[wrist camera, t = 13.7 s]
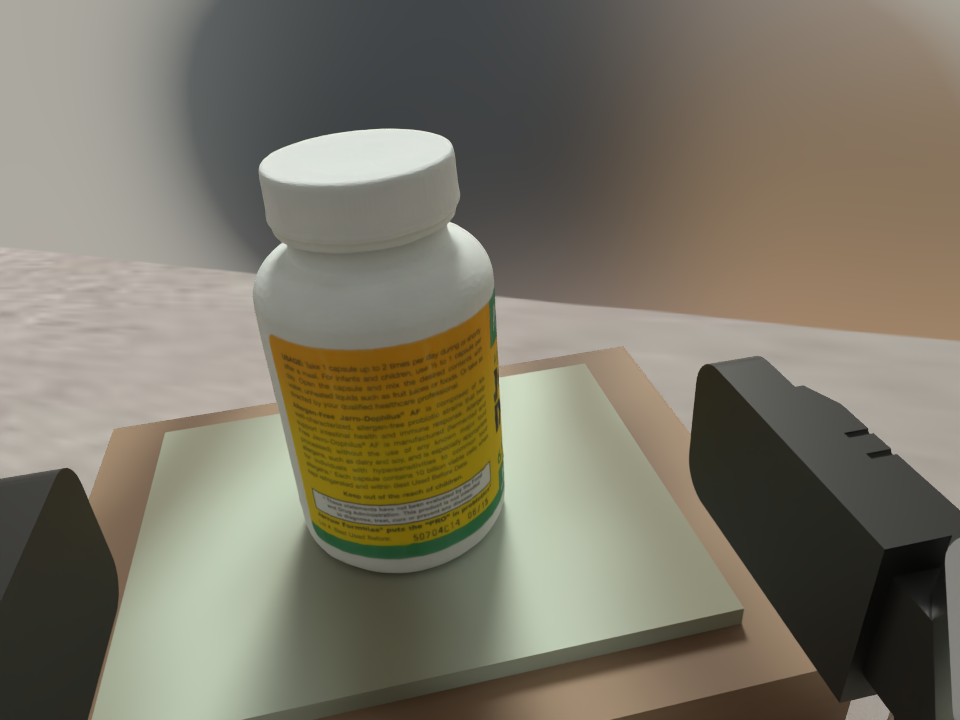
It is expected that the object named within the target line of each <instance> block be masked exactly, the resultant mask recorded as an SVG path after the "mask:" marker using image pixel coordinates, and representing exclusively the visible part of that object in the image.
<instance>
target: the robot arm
mask: <svg viewBox="0 0 960 720" xmlns="http://www.w3.org/2000/svg"><path fill="white" fill-rule="evenodd" d="M689 468H690V474H691V479H692V483H693V486H694V489H695V491H696V494H697V496H698V498H699V499H700V501H701V503H702V504H703V506H704V507H705V509H706V510H707V511H708V513H709V514H710V516H711V517H712V519H713V520H714V522H715V523H716V525H717V526H718V527H719V529H720V530H721V532H722V533H723V535H724V536H725V538H726V539H727V540H728V542H729V543H730V545H731V546H732V548H733V549H734V551H735V552H736V554H737V555H738V556H739V558H740V559H741V561H742V562H743V564H744V565H745V567H746V568H747V570H748V571H749V572H750V574H751V575H752V577H753V578H754V580H755V581H756V583H757V584H758V586H759V587H760V588H761V590H762V591H763V593H764V594H765V596H766V597H767V599H768V600H769V601H770V603H771V604H772V606H773V607H774V609H775V610H776V612H777V613H778V615H779V616H780V617H781V619H782V620H783V622H784V623H785V625H786V626H787V628H788V629H789V631H790V632H791V633H792V635H793V636H794V638H795V639H796V641H797V642H798V644H799V645H800V647H801V648H802V649H803V651H804V652H805V654H806V655H807V657H808V658H809V660H810V661H811V662H812V664H813V665H814V667H815V668H816V670H817V671H818V673H819V674H820V676H821V677H822V678H823V680H824V681H825V683H826V684H827V686H828V687H829V689H830V690H831V692H832V693H833V694H834V696H835V697H836V699H837V700H838V702H839V703H842V702H846V701H851V700H855V699H859V698H863V697H867V696H871V695H876V694H877V695H878V696H879V697H880V699H881V700H882V701H883V703H884V704H885V705H886V707H887V708H888V709H889V711H890V713H889V716H888V719H887V720H960V510H959V509H958V508H957V507H955V506H954V505H953V504H952V503H951V502H950V501H949V500H948V499H947V498H945V497H944V496H943V495H942V494H941V493H940V492H939V491H938V490H936V489H935V488H934V487H933V486H932V485H931V484H930V483H929V482H928V481H926V480H925V479H924V478H923V477H922V476H921V475H920V474H919V473H917V472H916V471H915V470H914V469H913V468H912V467H911V466H910V465H908V464H907V463H906V462H905V461H904V460H903V459H902V458H901V457H900V456H898V455H897V454H895V455H892V453H891V448H889V447H888V446H887V445H886V444H885V443H884V442H883V441H882V440H881V439H879V438H878V437H877V436H876V435H875V434H874V433H873V434H869V432H868V428H867V427H866V426H865V425H864V424H863V423H862V422H860V421H859V420H858V419H857V418H856V417H855V416H854V415H853V414H851V413H850V412H849V411H848V410H847V409H846V408H845V407H844V406H843V405H841V404H840V403H838V402H836V401H834V400H832V399H830V398H828V397H826V396H824V395H821V394H819V393H817V392H815V391H813V390H811V389H809V388H807V387H805V386H798V387H795V386H794V385H792V384H791V383H790V382H789V381H788V380H787V379H786V378H785V377H784V376H783V375H782V374H781V373H780V372H779V371H778V370H777V369H775V368H774V367H773V366H772V365H771V364H770V363H769V362H768V361H767V360H766V359H764V358H762V357H760V356H754V357H748V358H742V359H736V360H730V361H724V362H718V363H712V364H706V365H704V366H702V368H701V369H700V371H699V373H698V376H697V382H696V391H695V401H694V410H693V420H692V430H691V440H690V449H689ZM118 600H119V584H118V575H117V570H116V565H115V562H114V559H113V556H112V554H111V552H110V549H109V547H108V545H107V542H106V540H105V538H104V535H103V533H102V531H101V528H100V526H99V524H98V521H97V519H96V517H95V514H94V512H93V510H92V507H91V505H90V502H89V500H88V498H87V495H86V493H85V491H84V488H83V486H82V484H81V482H80V480H79V478H78V476H77V475H76V474H75V473H74V471H72V470H71V469H68V468H63V469H57V470H51V471H45V472H39V473H33V474H27V475H21V476H15V477H8V478H2V479H0V720H88V718H89V714H90V710H91V706H92V703H93V699H94V695H95V691H96V688H97V684H98V680H99V676H100V673H101V669H102V665H103V661H104V658H105V654H106V650H107V647H108V643H109V639H110V635H111V632H112V628H113V624H114V620H115V617H116V613H117V608H118Z"/></svg>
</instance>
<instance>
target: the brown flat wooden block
mask: <svg viewBox="0 0 960 720" xmlns="http://www.w3.org/2000/svg"><path fill="white" fill-rule="evenodd" d="M498 369H499V387H500V405H501V424H502V443H503V454H504V482H505V493H504V501H503V504H502V508H501V511H500V514H499V516H498V518H497V519H496V521H495V523H494V525H493V526H492V528H491V529H490V531H489V532H488V533H487V534H486V536H485V537H484V538H483V539H482V540H480V541H479V542H478V543H477V544H476V545H475V546H473V547H472V548H471V549H469V550H468V551H467V552H465V553H463V554H462V555H460V556H459V557H457V558H455V559H453V560H451V561H449V562H446V563H444V564H442V565H439V566H436V567H433V568H429V569H426V570H422V571H417V572H410V573H382V572H374V571H370V570H366V569H362V568H359V567H356V566H353V565H349V564H346V563H344V562H342V561H340V560H338V559H336V558H334V557H332V556H331V555H329V554H328V553H327V552H326V551H325V550H324V549H323V548H321V547H320V545H319V544H318V543H317V542H316V541H315V539H314V538H313V536H312V535H311V533H310V531H309V529H308V527H307V524H306V521H305V518H304V514H303V510H302V506H301V504H300V501H299V495H298V490H297V486H296V481H295V477H294V473H293V469H292V465H291V460H290V456H289V452H288V448H287V443H286V439H285V435H284V430H283V426H282V421H281V417H280V413H279V409H278V405H277V403H271V404H265V405H259V406H253V407H247V408H241V409H234V410H228V411H222V412H216V413H210V414H204V415H197V416H191V417H185V418H179V419H173V420H167V421H160V422H154V423H148V424H142V425H136V426H130V427H123V428H117V429H114V430H113V433H112V436H111V439H110V441H109V444H108V447H107V450H106V453H105V455H104V458H103V461H102V464H101V467H100V469H99V472H98V475H97V478H96V480H95V483H94V486H93V489H92V492H91V494H90V497H89V502H90V505H91V507H92V510H93V512H94V514H95V517H96V519H97V521H98V524H99V526H100V528H101V531H102V533H103V535H104V538H105V540H106V542H107V545H108V547H109V549H110V552H111V554H112V556H113V559H114V562H115V565H116V570H117V575H118V584H119V600H118V608H117V613H116V617H115V620H114V624H113V628H112V632H111V635H110V639H109V643H108V647H107V650H106V654H105V658H104V661H103V665H102V669H101V673H100V676H99V680H98V684H97V688H96V691H95V695H94V699H93V703H92V706H91V710H90V714H89V718H88V720H845V718H846V715H847V712H848V708H849V705H850V702H851V701H846V702H842V703H839V702H838V700H837V699H836V697H835V696H834V694H833V693H832V692H831V690H830V689H829V687H828V686H827V684H826V683H825V681H824V680H823V678H822V677H821V676H820V674H819V673H818V671H817V670H816V668H815V667H814V665H813V664H812V662H811V661H810V660H809V658H808V657H807V655H806V654H805V652H804V651H803V649H802V648H801V647H800V645H799V644H798V642H797V641H796V639H795V638H794V636H793V635H792V633H791V632H790V631H789V629H788V628H787V626H786V625H785V623H784V622H783V620H782V619H781V617H780V616H779V615H778V613H777V612H776V610H775V609H774V607H773V606H772V604H771V603H770V601H769V600H768V599H767V597H766V596H765V594H764V593H763V591H762V590H761V588H760V587H759V586H758V584H757V583H756V581H755V580H754V578H753V577H752V575H751V574H750V572H749V571H748V570H747V568H746V567H745V565H744V564H743V562H742V561H741V559H740V558H739V556H738V555H737V554H736V552H735V551H734V549H733V548H732V546H731V545H730V543H729V542H728V540H727V539H726V538H725V536H724V535H723V533H722V532H721V530H720V529H719V527H718V526H717V525H716V523H715V522H714V520H713V519H712V517H711V516H710V514H709V513H708V511H707V510H706V509H705V507H704V506H703V504H702V503H701V501H700V499H699V498H698V496H697V494H696V491H695V489H694V486H693V483H692V479H691V474H690V468H689V449H690V440H691V434H690V433H689V431H688V430H687V429H686V427H685V426H684V425H683V424H682V422H681V421H680V420H679V418H678V417H677V416H676V414H675V413H674V412H673V410H672V409H671V408H670V407H669V405H668V404H667V403H666V401H665V400H664V399H663V397H662V396H661V395H660V394H659V392H658V391H657V390H656V388H655V387H654V386H653V384H652V383H651V382H650V380H649V379H648V378H647V377H646V375H645V374H644V373H643V371H642V370H641V369H640V367H639V366H638V365H637V364H636V362H635V361H634V360H633V358H632V357H631V356H630V354H629V353H628V352H627V351H626V349H625V348H624V347H616V348H610V349H604V350H598V351H592V352H586V353H579V354H573V355H567V356H561V357H555V358H549V359H542V360H536V361H530V362H524V363H518V364H512V365H506V366H499V367H498Z"/></svg>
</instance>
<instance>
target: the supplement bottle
mask: <svg viewBox="0 0 960 720" xmlns="http://www.w3.org/2000/svg"><path fill="white" fill-rule="evenodd" d="M259 179H260V183H261V188H262V194H263V199H264V204H265V211H266V220H267V223H268V225H269V226H270V227H271V228H272V230H273V233H274V235H275V236H276V238H277V239H279V240H280V241H281V242H282V243H281V244H280V245H279V246H278V247H277V248H275V249H274V250H273V251H272V252H271V253H270V254H269V256H268V257H267V258H266V259H265V261H264V262H263V264H262V265H261V267H260V269H259V271H258V273H257V276H256V279H255V283H254V288H253V301H254V308H255V313H256V317H257V322H258V327H259V331H260V335H261V340H262V344H263V348H264V352H265V356H266V360H267V364H268V368H269V372H270V376H271V380H272V385H273V389H274V393H275V397H276V401H277V405H278V409H279V413H280V417H281V421H282V426H283V430H284V435H285V439H286V443H287V448H288V452H289V456H290V460H291V465H292V469H293V473H294V477H295V481H296V486H297V490H298V495H299V501H300V504H301V506H302V510H303V514H304V518H305V521H306V524H307V527H308V529H309V531H310V533H311V535H312V536H313V538H314V539H315V541H316V542H317V543H318V544H319V545H320V547H321V548H323V549H324V550H325V551H326V552H327V553H328V554H329V555H331V556H332V557H334V558H336V559H338V560H340V561H342V562H344V563H346V564H349V565H353V566H356V567H359V568H362V569H366V570H370V571H374V572H382V573H410V572H417V571H422V570H426V569H429V568H433V567H436V566H439V565H442V564H444V563H446V562H449V561H451V560H453V559H455V558H457V557H459V556H460V555H462V554H463V553H465V552H467V551H468V550H469V549H471V548H472V547H473V546H475V545H476V544H477V543H478V542H479V541H480V540H482V539H483V538H484V537H485V536H486V534H487V533H488V532H489V531H490V529H491V528H492V526H493V525H494V523H495V521H496V519H497V518H498V516H499V514H500V511H501V508H502V504H503V501H504V493H505V482H504V454H503V443H502V424H501V405H500V387H499V369H498V351H497V332H496V309H495V288H494V278H493V270H492V266H491V263H490V260H489V257H488V255H487V253H486V251H485V250H484V248H483V247H482V245H481V244H480V243H479V242H478V241H477V240H476V239H475V238H474V237H473V236H472V235H471V234H470V233H469V232H467V231H466V230H464V229H463V228H461V227H459V226H458V225H456V224H453V223H451V222H449V221H450V220H451V219H452V218H453V216H454V214H455V210H456V206H457V204H458V202H459V199H460V193H459V187H458V180H457V171H456V162H455V154H454V151H453V146H452V144H451V143H450V141H448V140H447V139H446V138H444V137H442V136H440V135H437V134H433V133H430V132H424V131H418V130H406V129H373V130H361V131H351V132H343V133H336V134H330V135H325V136H320V137H316V138H311V139H308V140H304V141H301V142H298V143H295V144H292V145H289V146H286V147H284V148H281V149H279V150H277V151H275V152H273V153H271V154H270V155H269V156H267V157H266V158H265V159H264V160H263V161H262V163H261V164H260V167H259Z"/></svg>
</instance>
